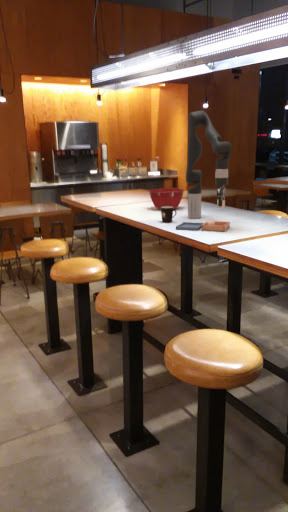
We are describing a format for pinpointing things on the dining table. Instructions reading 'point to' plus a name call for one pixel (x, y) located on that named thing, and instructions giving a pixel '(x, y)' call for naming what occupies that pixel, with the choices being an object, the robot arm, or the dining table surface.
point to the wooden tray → (216, 226)
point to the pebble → (222, 204)
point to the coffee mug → (167, 214)
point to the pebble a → (210, 222)
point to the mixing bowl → (166, 197)
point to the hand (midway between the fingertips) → (221, 205)
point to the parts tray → (189, 226)
